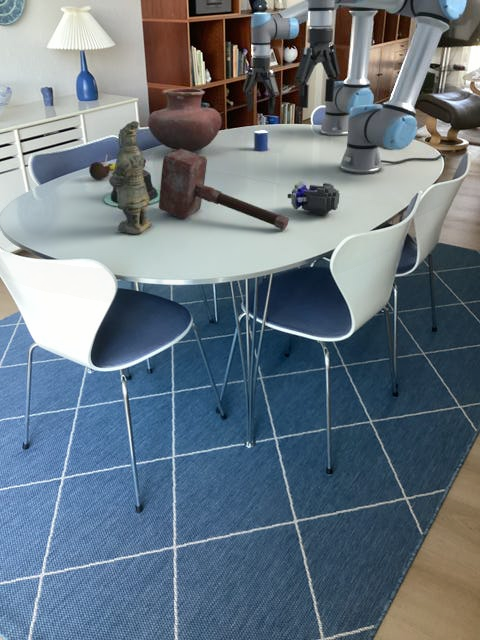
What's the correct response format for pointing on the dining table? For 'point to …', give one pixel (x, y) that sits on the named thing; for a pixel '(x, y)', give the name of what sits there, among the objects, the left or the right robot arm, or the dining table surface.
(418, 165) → the dining table surface
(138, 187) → the statue
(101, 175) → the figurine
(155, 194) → the chocolate cake
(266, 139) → the can
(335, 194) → the toy
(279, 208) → the dining table surface
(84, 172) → the dining table surface
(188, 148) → the clay pot
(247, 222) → the dining table surface
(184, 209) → the sledgehammer
